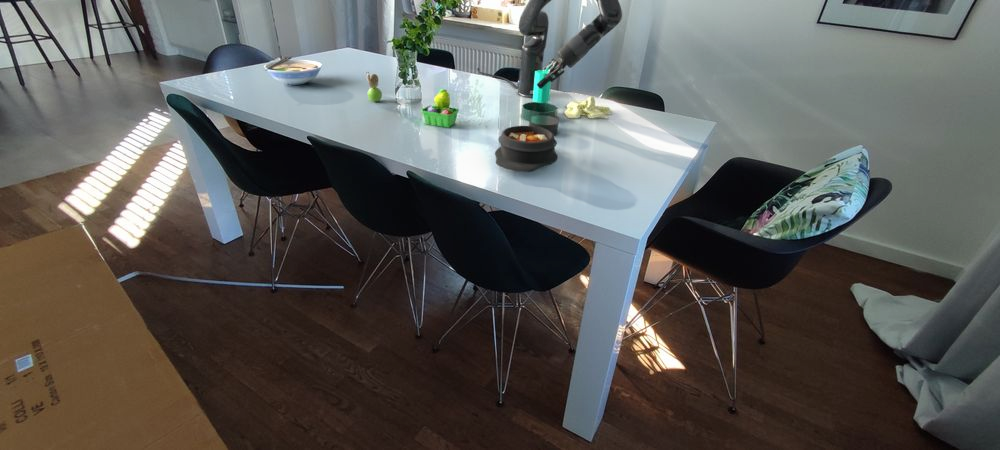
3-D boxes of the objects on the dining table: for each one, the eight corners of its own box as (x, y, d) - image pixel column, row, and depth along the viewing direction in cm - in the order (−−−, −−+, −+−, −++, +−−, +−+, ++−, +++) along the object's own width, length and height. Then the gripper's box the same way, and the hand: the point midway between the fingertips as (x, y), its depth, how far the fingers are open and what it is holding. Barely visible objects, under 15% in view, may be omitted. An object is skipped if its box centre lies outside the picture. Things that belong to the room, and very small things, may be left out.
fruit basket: (420, 124, 165) (419, 91, 159) (432, 117, 172) (431, 86, 167) (450, 129, 162) (450, 96, 156) (461, 122, 169) (461, 90, 164)
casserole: (543, 182, 128) (546, 153, 124) (480, 170, 134) (481, 141, 129) (566, 152, 149) (570, 126, 144) (510, 142, 154) (512, 117, 150)
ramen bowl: (312, 91, 194) (309, 71, 190) (256, 89, 194) (252, 68, 190) (332, 77, 216) (329, 58, 212) (281, 75, 216) (278, 56, 212)
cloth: (572, 101, 199) (574, 87, 196) (616, 109, 193) (618, 94, 189) (554, 115, 181) (556, 99, 178) (601, 124, 175) (604, 107, 172)
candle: (538, 103, 172) (541, 69, 166) (529, 99, 177) (532, 65, 171) (552, 102, 175) (555, 68, 169) (543, 97, 180) (546, 64, 173)
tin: (515, 114, 181) (515, 104, 179) (543, 110, 187) (544, 100, 185) (534, 124, 171) (535, 114, 169) (563, 120, 177) (565, 110, 175)
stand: (521, 128, 166) (522, 117, 164) (546, 124, 171) (547, 113, 169) (538, 138, 159) (539, 126, 157) (564, 134, 163) (565, 122, 161)
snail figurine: (363, 102, 185) (360, 70, 178) (373, 98, 190) (370, 67, 184) (375, 104, 183) (372, 72, 177) (385, 100, 188) (382, 69, 182)
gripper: (563, 39, 172) (527, 72, 177) (571, 46, 160) (533, 82, 165) (575, 54, 176) (540, 87, 181) (585, 63, 163) (547, 97, 168)
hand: (537, 84), depth 173 cm, fingers closed on candle, 5 cm apart
